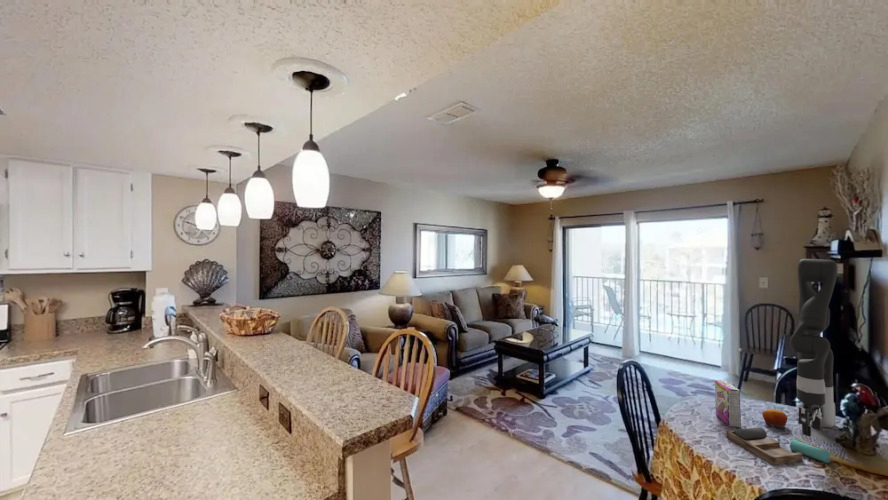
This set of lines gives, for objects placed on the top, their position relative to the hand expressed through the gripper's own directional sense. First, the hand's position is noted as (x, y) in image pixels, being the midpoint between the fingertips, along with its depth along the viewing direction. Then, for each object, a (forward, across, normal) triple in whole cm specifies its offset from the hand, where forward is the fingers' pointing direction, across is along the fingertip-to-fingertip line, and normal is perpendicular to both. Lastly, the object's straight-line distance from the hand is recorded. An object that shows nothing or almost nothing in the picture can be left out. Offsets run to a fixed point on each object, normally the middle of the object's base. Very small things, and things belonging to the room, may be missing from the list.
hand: (811, 432), depth 137 cm
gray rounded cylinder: (+8, +7, -16) cm, 19 cm away
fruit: (+8, -16, -17) cm, 25 cm away
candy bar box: (+9, -4, -29) cm, 30 cm away
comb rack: (+9, +9, -11) cm, 17 cm away
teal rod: (+8, 0, 0) cm, 8 cm away
